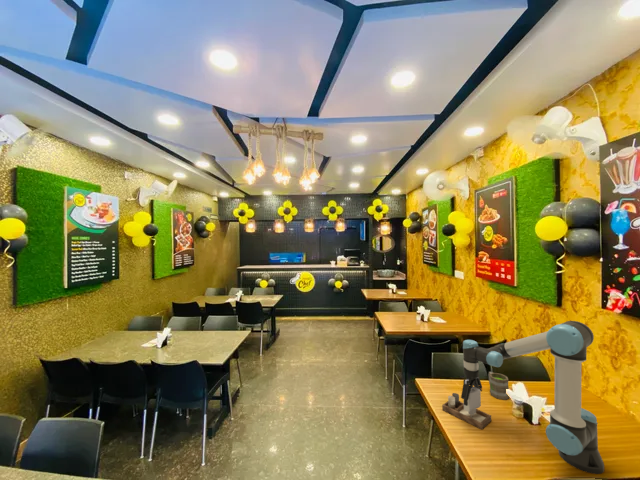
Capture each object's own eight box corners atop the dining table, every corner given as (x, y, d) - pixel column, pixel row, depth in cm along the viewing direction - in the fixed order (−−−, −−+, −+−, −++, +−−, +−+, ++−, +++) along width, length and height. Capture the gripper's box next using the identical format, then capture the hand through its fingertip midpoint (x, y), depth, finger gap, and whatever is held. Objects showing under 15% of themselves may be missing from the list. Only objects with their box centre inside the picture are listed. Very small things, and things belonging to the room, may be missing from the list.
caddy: (491, 420, 152) (491, 406, 152) (481, 429, 145) (481, 414, 145) (452, 402, 170) (452, 389, 170) (442, 410, 163) (442, 396, 163)
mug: (513, 399, 172) (512, 380, 173) (496, 399, 173) (495, 380, 173) (497, 386, 188) (497, 369, 188) (481, 387, 188) (481, 369, 189)
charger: (481, 416, 154) (481, 390, 154) (470, 420, 151) (469, 393, 151) (474, 412, 158) (473, 386, 159) (462, 415, 155) (462, 389, 155)
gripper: (474, 360, 166) (475, 395, 165) (453, 372, 151) (454, 411, 150) (487, 364, 160) (489, 401, 159) (467, 377, 145) (468, 417, 144)
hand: (472, 406), depth 154 cm, fingers open, 13 cm apart
